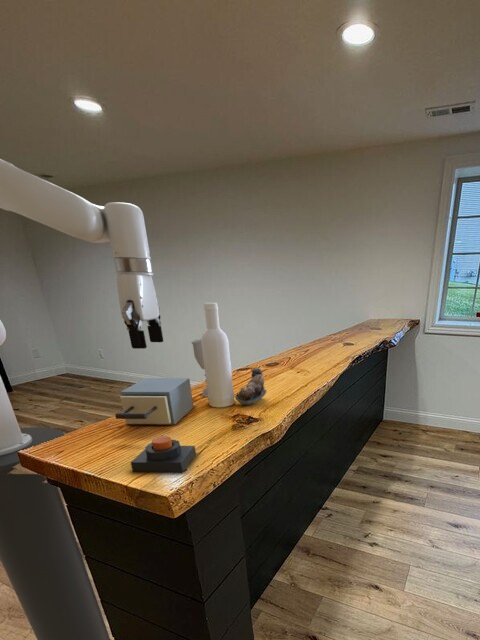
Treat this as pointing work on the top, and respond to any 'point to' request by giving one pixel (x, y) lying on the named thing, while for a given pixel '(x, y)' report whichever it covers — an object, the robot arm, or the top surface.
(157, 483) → the top surface
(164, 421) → the cream drawer
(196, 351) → the chalice
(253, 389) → the brown figurine on dish
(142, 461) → the control block
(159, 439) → the button
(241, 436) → the top surface
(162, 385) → the drawer cabinet
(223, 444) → the top surface
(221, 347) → the bottle
